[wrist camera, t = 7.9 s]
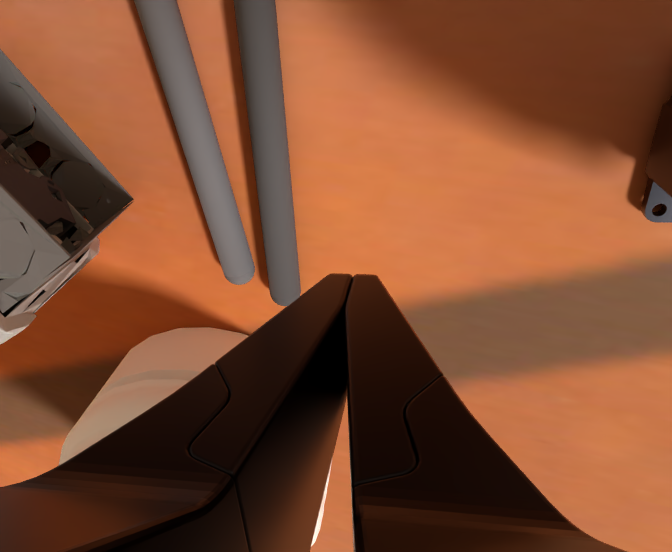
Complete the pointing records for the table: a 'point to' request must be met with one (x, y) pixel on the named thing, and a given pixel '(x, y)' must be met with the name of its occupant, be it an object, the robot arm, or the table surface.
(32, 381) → the table surface
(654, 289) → the table surface
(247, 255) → the cord
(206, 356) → the honey pot
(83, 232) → the electrical switch
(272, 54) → the cord
